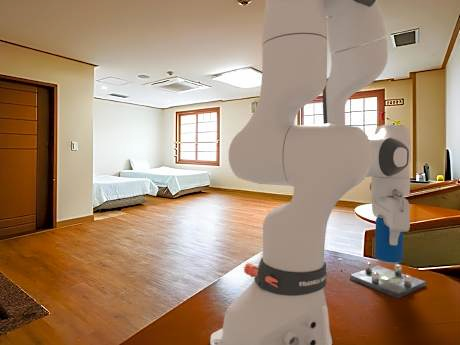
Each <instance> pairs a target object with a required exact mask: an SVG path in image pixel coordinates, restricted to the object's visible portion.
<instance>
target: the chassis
mask: <svg viewBox="0 0 460 345" xmlns="http://www.w3.org/2000/svg"><path fill="white" fill-rule="evenodd" d="M402 266H403V265H401V264H400V263H399V264H394V270H393V269H389V268H387V267H383V266H381V265H375V266H373V262H370V261H365V269H363V270H360V271H357V272H354V273H352V274H349V280H352V281H354V282H357V283H359V284H361V285H363V286H366V287H368V288H371V289H373V290H376V291H379V292H381V293H384V294H386V295H388V296H391V297H393V298H396V299H400V298H402V297H405V296H407V295H409V294H411V293H413V292H415V291H418V290H420V289H422V288H424V287H426V284H427V281H425V280H422V279H419V278H418V277H413V276H411V275H409V274H404V273H402Z"/></svg>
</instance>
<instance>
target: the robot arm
mask: <svg viewBox="0 0 460 345" xmlns="http://www.w3.org/2000/svg"><path fill="white" fill-rule="evenodd" d="M263 12H264V13H263V24H262V36H261V37H262V38H261V39H262V41H261V42H262V44H261V45H262V48H261V50H262V54H261V55H262V57H261V58H262V61H261V62H262V64H261V65H262V67H261V68H262V69H261V84H260V85H261V86H260V92H259V93H260V94H259V98H258V101H257V104H256V107H255V109H254V111H253V113H252V116H250V119H249V120H248V122H247V123H246V124H245V126H243V128H241V130H240V131H238V132H237V133H236V135H234V137H233V138H232V140H231V143H230V145H229V149H228V154H227V156H228V163H229V166H230V169H231V170H232V173H233V174H234V176H236V178H238V179H241V180H243V181H247V182H250V183H254V184H258V185H267V186H268V185H269V186H272V185H273V186H288V187H293V194H292V198H291V200H290V201H289V202H287V203H284V204H281V205H280V206H277V207H276V208H274V209H272V210H270V211H269V212H268V213H267V215H266V216H265V218H264V219H263V223H262V257H261V259H260V260H259V263H258V266H256V265H254V264H252V263H249V262H248V263H246V264H245V266H244V267H243V268H244V269H243V273H245V274H246V275H247V276H248V275H249V276H250V277H251V278H253V277H254V279H253V281H252V283H250V284H249V286H248V287H247V288H246V289H245V290H244V291H243V292H242V293H241V294H240V295H239V296H238V297H237V298H236V299H235V300H234V301H233V302H232V303H231V304H230V305H229V306H228V307H227V309H226V311H225V314H224V319H223V325H222V327H221V328H220V329H218V330H217V331H215V332H212V334H210V340H209V345H332V344H333V340H332V339H333V338H332V335H331V331H330V330H331V329H330V318H329V310H328V305H327V300H326V295H325V294H326V293H325V287H326V285H327V277H328V272H327V264H326V262H325V243H326V236H327V234H326V233H327V227H328V226H327V225H328V221H329V218H330V216H331V213H332V211H333V210H334V207H335V206H336V205H337V203H338V202H339V201H340V199H341V198H342V197H343V196H344V195H346V193H348V192H349V191H350V190H352V189H353V188H355V187H356V186H358V185H359V184H360V183H361V184H362V182H363V181H364V180H365V179H366V178H369V177H370V178H371V183H369V191H370V192H371V209H372V214H373V216H374V217H375V218H377V217H378V215H380V216H381V217H384V218H383V219H384V223H385V225H387V226H388V227H389V231H390V235H389V236H388V242H389V244H390V245H397V244H398V237H399V235H400V232H403V233H404V232H405V233H406V232H409V231H410V227H411V216H410V215H411V214H410V213H411V210H410V202H409V201H408V199H406V198H405V197H409V196H410V193H411V192H410V191H411V189H410V188H411V174H410V173H411V172H410V169H409V168H410V163H411V161H412V143H411V134H410V130H409V128H408V127H407V126H405V125H402V124H394V123H393V124H392V123H391V124H389V123H387V124H382V125H379V126H377V127H376V128H375V132H374V135H373V136H370V137H369V136H368V135H367V134H366V132H364V130H363V129H361V128H360V127H357V126H353V125H346V103H347V102H348V101H349V99H350V98H351V96H352V95H355V94H356V93H357V92H359V91H362V89H364V88H365V87H368V86H369V85H371V84H373V82H375V81H376V80H377V79H378V78H379V77H380V76H381V74H382V73H383V72H384V69H385V68H386V66H387V63H388V56H389V55H388V54H389V52H388V50H389V48H388V41H387V37H386V35H387V34H386V28H385V24H384V18H383V14H382V11H381V7H380V5H379V1H378V0H266V1H265V6H264V11H263ZM328 45H329V52H330V53H329V54H330V58H331V67H330V72H329V76H328ZM320 95H322V115H323V118H322V119H323V123H316V124H315V123H314V124H311V123H310V124H295V120H296V116H297V115H298V113H299V111H300V110H301V109H302V108H304V106H306V105H308V104H309V103H311V102H313V101H314V100H316V99H318V97H319V96H320Z"/></svg>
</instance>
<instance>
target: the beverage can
mask: <svg viewBox="0 0 460 345" xmlns="http://www.w3.org/2000/svg"><path fill="white" fill-rule="evenodd" d="M383 218H384V217H381V216H380V215H378V217H376V219H375V231H374V232H375V234H374V235H375V237H374V238H375V239H374V258H375V259H377V261H378V262H379V263H382V264H385V265H395V264H399V265H400V263H402V262H403V256H404V255H403V251H404V250H403V249H404V232H400V235H399V237H398V244H397V245H390V244H389V242H388V236H389V235H390V231H389V227H388V226H387V225H385V223H384V219H383Z"/></svg>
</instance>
